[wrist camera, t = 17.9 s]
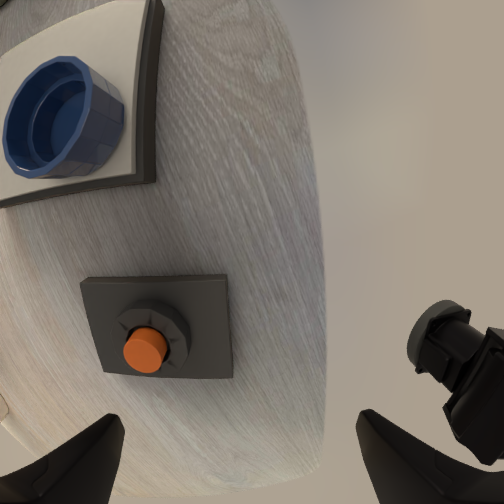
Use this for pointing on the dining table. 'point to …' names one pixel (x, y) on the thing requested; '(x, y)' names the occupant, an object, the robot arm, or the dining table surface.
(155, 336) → the button
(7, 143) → the small dish
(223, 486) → the dining table surface
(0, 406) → the pill bottle
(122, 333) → the pad
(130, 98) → the scale
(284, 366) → the dining table surface
